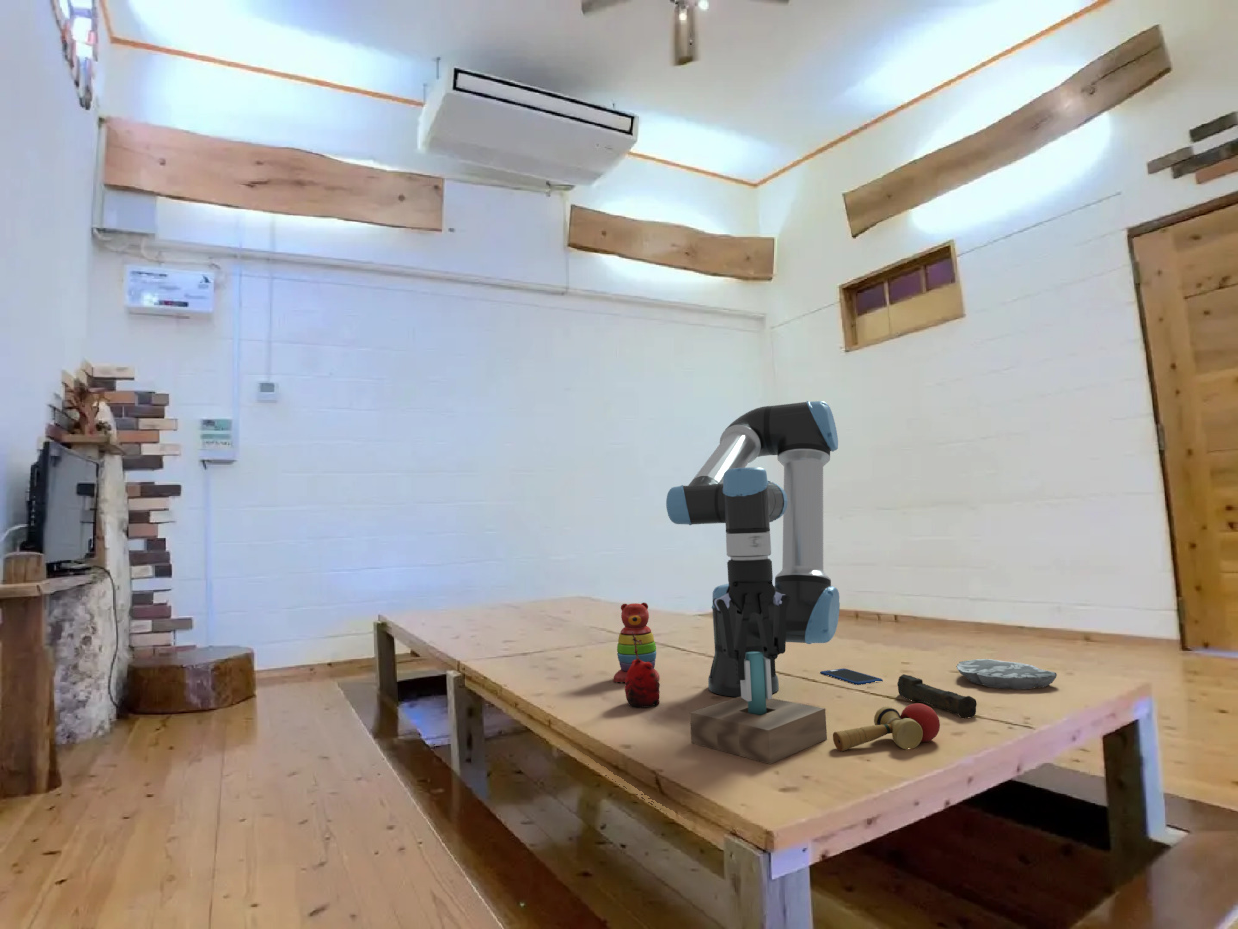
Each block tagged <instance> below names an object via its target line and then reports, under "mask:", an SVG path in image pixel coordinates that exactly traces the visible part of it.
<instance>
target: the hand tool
mask: <svg viewBox="0 0 1238 929" xmlns="http://www.w3.org/2000/svg"><path fill="white" fill-rule="evenodd" d="M896 685H897V691H898V694H899V695H900V696H901V697H902V696H903V697H902V698H904V697H905V698H904V699H906V698H907V699H906V700H908V699H910V700H912V701H911V702H913V701H920V702H922V703H925V704H927V705H928V704H929V705H931V706H934V707H936V708H940V709H943V710H945V711H947V712H950V713H953V714H954V713H955V714H956V715H958V716H959V718H960V719H961V718H964V719H969V718H968V717H971V718H973V717H975V716H976V713H977V705H978V704H977V703H978V702H977V700H976V699H975V698H974V697H972V696H970V695H966V696H965V695H961V694H958V693H956V692H953V691H949V690H944V689H941V688H938V687H933V686H931V685H928V684H926V683H924V681H923V679H921V678H918V677H915V676H912V675H907V674H901V675H900V676H899V677H898V680H897V684H896ZM910 700H909V701H910Z"/></svg>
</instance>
